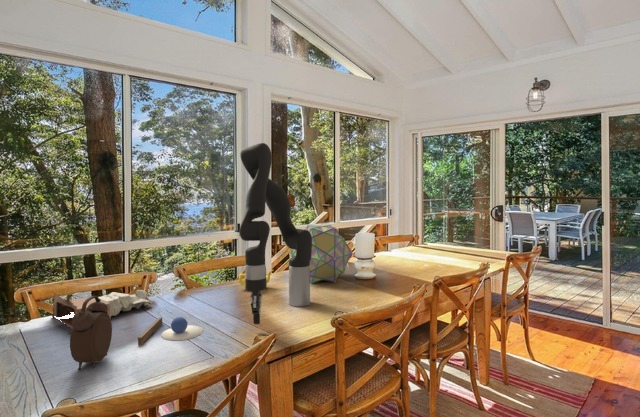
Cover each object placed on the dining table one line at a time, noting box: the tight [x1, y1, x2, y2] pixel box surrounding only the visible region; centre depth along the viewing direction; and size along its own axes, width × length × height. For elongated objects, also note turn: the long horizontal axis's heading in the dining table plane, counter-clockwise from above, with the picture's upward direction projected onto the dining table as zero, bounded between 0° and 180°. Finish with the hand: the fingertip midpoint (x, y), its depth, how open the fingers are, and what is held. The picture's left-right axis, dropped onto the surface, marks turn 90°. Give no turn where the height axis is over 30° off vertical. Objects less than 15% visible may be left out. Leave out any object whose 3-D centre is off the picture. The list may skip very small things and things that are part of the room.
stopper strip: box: [137, 316, 163, 346], centre depth 142 cm, size 1×20×2 cm, turn 3°
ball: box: [170, 316, 188, 333], centre depth 143 cm, size 6×6×6 cm
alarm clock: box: [69, 295, 113, 371], centre depth 118 cm, size 15×7×20 cm, turn 5°
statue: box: [51, 289, 153, 335], centre depth 162 cm, size 24×35×10 cm
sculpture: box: [289, 224, 354, 285], centre depth 219 cm, size 30×30×30 cm
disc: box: [161, 324, 203, 342], centre depth 143 cm, size 14×14×1 cm
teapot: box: [238, 269, 274, 289], centre depth 202 cm, size 14×13×10 cm
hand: (256, 323), depth 144 cm, fingers closed
